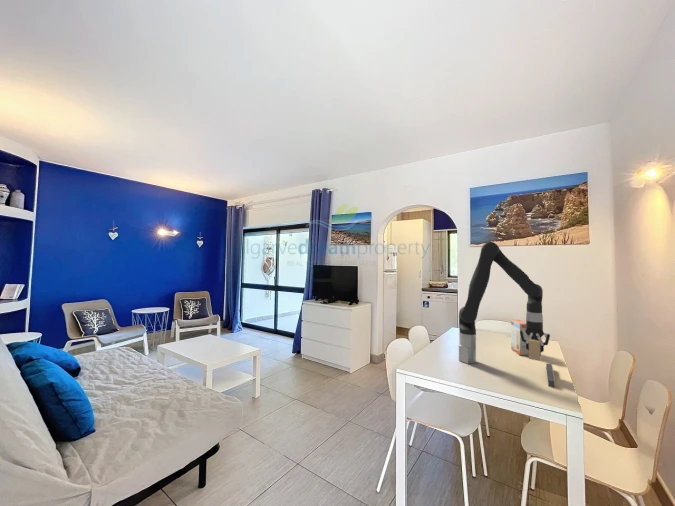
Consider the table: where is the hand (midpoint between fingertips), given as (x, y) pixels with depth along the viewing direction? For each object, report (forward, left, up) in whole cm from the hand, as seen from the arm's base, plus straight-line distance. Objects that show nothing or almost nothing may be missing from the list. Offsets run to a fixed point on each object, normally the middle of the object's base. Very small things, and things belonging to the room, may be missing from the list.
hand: (534, 350), depth 152 cm
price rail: (+2, -6, -13) cm, 14 cm away
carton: (0, 0, -4) cm, 4 cm away
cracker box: (+33, +21, -13) cm, 41 cm away
